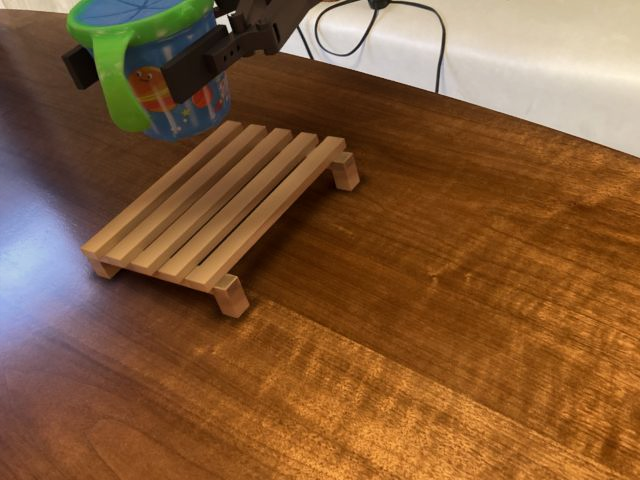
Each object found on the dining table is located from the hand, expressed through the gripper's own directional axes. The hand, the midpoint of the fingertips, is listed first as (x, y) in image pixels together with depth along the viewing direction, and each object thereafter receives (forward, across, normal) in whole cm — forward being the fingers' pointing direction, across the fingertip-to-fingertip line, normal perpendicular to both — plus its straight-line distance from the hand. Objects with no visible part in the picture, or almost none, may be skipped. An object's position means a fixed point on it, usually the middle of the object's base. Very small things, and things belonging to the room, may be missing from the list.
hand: (119, 79), depth 56 cm
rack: (-4, 0, -17) cm, 18 cm away
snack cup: (-4, 0, -6) cm, 8 cm away
